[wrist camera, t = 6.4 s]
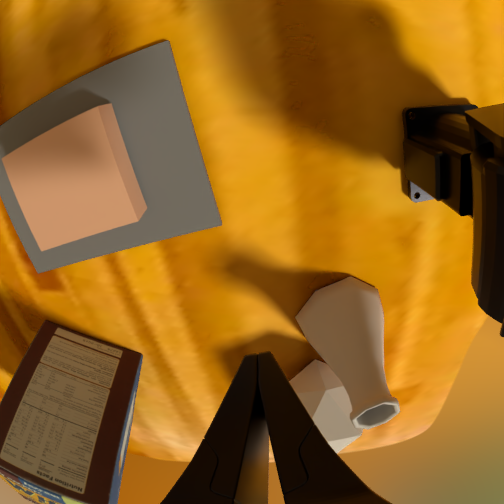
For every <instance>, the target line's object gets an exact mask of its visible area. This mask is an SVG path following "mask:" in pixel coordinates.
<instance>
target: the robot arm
mask: <svg viewBox="0 0 504 504" xmlns="http://www.w3.org/2000/svg"><path fill="white" fill-rule="evenodd" d="M410 112H411V113H412V117H411V118H409V113H410ZM402 116H403V125H404V134H405V139H404V141H403V148H404V161H405V176H406V178H407V179H408V195H409V198H410V199H411V200H412V201H413V202H421V201H426V200H431V199H436V200H437V201H442V202H444V203H445V204H446V205H447V206H449V207H450V208H451V209H453V210H454V211H455V212H457V213H458V214H459V215H460V216H466V215H468V216H470V217H471V218H472V219H473V253H472V270H471V284H472V286H473V289H474V291H475V294H476V296H477V298H478V305H479V306H480V307H481V308H482V310H483V311H484V312H485V313H486V314H488V315H489V316H490V317H492V318H493V319H495V320H497V321H498V322H500V323H502V327H501V331H500V335H501V336H502V337H504V103H503V104H497V105H492V106H487V107H482V108H478V107H477V106H476V105H473V104H453V105H433V106H418V107H408V108H405V109H404V110H403V114H402ZM416 192H417V196H416V197H414V194H415V193H416ZM269 436H270V441H271V445H272V450H273V454H274V458H275V463H276V467H277V471H278V476H279V480H280V484H281V488H282V492H283V495H284V501H285V504H392V503H390V502H389V501H387V500H386V499H384V498H382V497H381V496H379V495H378V494H376V493H375V492H374V491H372V490H371V489H370V488H369V487H368V486H367V485H366V484H365V483H363V482H362V481H361V479H359V477H358V476H357V475H356V474H355V473H354V472H353V471H352V470H351V469H350V468H349V467H348V466H347V465H346V464H345V462H344V461H343V460H342V459H341V458H340V457H339V456H338V455H337V453H336V452H335V451H334V450H333V449H332V447H331V446H330V445H329V444H328V442H327V441H326V439H325V438H324V436H323V435H322V434H321V432H320V430H319V429H318V427H317V426H316V425H315V423H314V421H313V420H312V418H311V416H310V415H309V413H308V412H307V410H306V408H305V407H304V405H303V404H302V402H301V400H300V399H299V397H298V396H297V394H296V392H295V391H294V389H293V387H292V386H291V384H290V383H289V381H288V379H287V378H286V376H285V374H284V373H283V371H282V369H281V368H280V366H279V364H278V363H277V361H276V359H275V358H274V356H273V354H272V353H271V352H270V351H266V352H261V353H259V354H256V353H255V354H249V355H245V356H244V358H243V360H242V362H241V364H240V366H239V368H238V370H237V373H236V375H235V377H234V379H233V381H232V383H231V385H230V387H229V389H228V391H227V393H226V395H225V397H224V399H223V401H222V403H221V405H220V407H219V409H218V411H217V413H216V415H215V417H214V419H213V421H212V423H211V425H210V427H209V429H208V431H207V433H206V435H205V437H204V438H205V439H203V440H202V442H201V444H200V446H199V448H198V450H197V452H196V453H195V455H194V457H193V459H192V460H191V462H190V463H189V465H188V466H187V468H186V469H185V471H184V472H183V474H182V475H181V476H180V478H179V479H178V481H177V482H176V484H175V485H174V486H173V487H172V489H171V490H170V492H169V493H168V494H167V496H166V497H165V498H164V500H163V501H162V502H161V503H160V504H268V470H269V469H268V467H269Z"/></svg>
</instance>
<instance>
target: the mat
mask: <svg viewBox="0 0 504 504" xmlns="http://www.w3.org/2000/svg"><path fill="white" fill-rule="evenodd" d="M110 103H112V106H113V110H114V113H115V116H116V119H117V123H118V126H119V129H120V132H121V135H122V138H123V141H124V144H125V147H126V150H127V153H128V156H129V159H130V162H131V165H132V167H133V170H134V173H135V176H136V179H137V181H138V184H139V187H140V190H141V192H142V195H143V198H144V200H145V203H146V206H147V209H146V211H145V212H144V214H143V215H142V217H141V218H140V220H139V221H138V222H134V223H131V224H127V225H124V226H121V227H117V228H114V229H111V230H107V231H104V232H101V233H97V234H94V235H91V236H88V237H84V238H81V239H78V240H75V241H72V242H69V243H66V244H63V245H60V246H57V247H54V248H51V249H48V250H45V251H42V252H41V250H40V248H39V246H38V244H37V242H36V240H35V238H34V236H33V234H32V232H31V229H30V227H29V225H28V223H27V221H26V219H25V216H24V214H23V212H22V210H21V207H20V205H19V203H18V200H17V198H16V196H15V193H14V191H13V188H12V186H11V183H10V181H9V178H8V175H7V173H6V170H5V167H4V164H3V162H2V158H3V157H5V156H6V155H8V154H10V153H11V152H13V151H14V150H16V149H18V148H19V147H21V146H22V145H24V144H26V143H27V142H29V141H31V140H33V139H34V138H36V137H38V136H40V135H41V134H43V133H45V132H47V131H49V130H50V129H52V128H54V127H56V126H58V125H60V124H62V123H64V122H66V121H68V120H70V119H72V118H74V117H76V116H78V115H80V114H82V113H84V112H86V111H88V110H90V109H92V108H95V107H97V106H100V105H105V104H110ZM0 196H1V198H2V201H3V203H4V205H5V208H6V210H7V212H8V214H9V217H10V219H11V221H12V223H13V225H14V228H15V230H16V232H17V234H18V236H19V238H20V240H21V242H22V244H23V246H24V248H25V250H26V252H27V254H28V256H29V258H30V259H31V261H32V263H33V265H34V267H35V269H36V270H37V272H38V273H41V272H45V271H48V270H52V269H55V268H59V267H62V266H66V265H70V264H73V263H77V262H80V261H84V260H88V259H91V258H95V257H99V256H102V255H106V254H110V253H114V252H117V251H121V250H125V249H129V248H133V247H136V246H140V245H144V244H148V243H152V242H156V241H160V240H164V239H168V238H172V237H176V236H180V235H184V234H188V233H192V232H196V231H200V230H204V229H208V228H213V227H217V226H221V225H222V221H221V218H220V214H219V211H218V208H217V205H216V201H215V198H214V195H213V191H212V188H211V185H210V181H209V178H208V175H207V171H206V168H205V165H204V161H203V158H202V154H201V151H200V148H199V144H198V141H197V137H196V134H195V131H194V127H193V124H192V120H191V117H190V113H189V110H188V106H187V103H186V99H185V96H184V92H183V89H182V85H181V82H180V78H179V74H178V71H177V67H176V64H175V60H174V57H173V53H172V49H171V46H170V42H169V41H168V40H167V41H165V42H162V43H159V44H156V45H153V46H150V47H148V48H145V49H142V50H140V51H137V52H135V53H132V54H130V55H127V56H125V57H123V58H120V59H118V60H116V61H113V62H111V63H109V64H107V65H104V66H102V67H100V68H98V69H96V70H94V71H92V72H90V73H88V74H86V75H84V76H82V77H80V78H78V79H76V80H74V81H72V82H70V83H68V84H66V85H64V86H63V87H61V88H59V89H57V90H55V91H54V92H52V93H50V94H48V95H47V96H45V97H43V98H42V99H40V100H38V101H37V102H35V103H34V104H32V105H30V106H29V107H27V108H26V109H24V110H23V111H21V112H20V113H18V114H17V115H15V116H14V117H12V118H11V119H9V120H8V121H6V122H5V123H4V124H2V125H1V126H0Z"/></svg>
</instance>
